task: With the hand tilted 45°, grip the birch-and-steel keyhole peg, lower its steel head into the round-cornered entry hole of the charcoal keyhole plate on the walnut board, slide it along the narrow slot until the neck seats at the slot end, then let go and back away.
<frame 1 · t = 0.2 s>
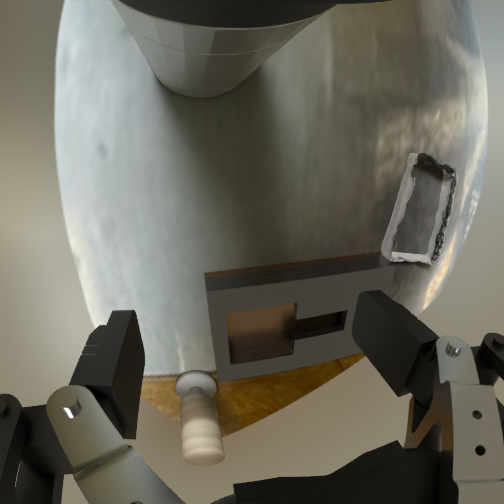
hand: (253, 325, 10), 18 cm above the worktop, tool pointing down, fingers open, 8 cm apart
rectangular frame: (416, 208, 31), on the worktop
keyhole peg: (195, 383, 34), on the worktop
keyhole board: (297, 309, 32), on the worktop
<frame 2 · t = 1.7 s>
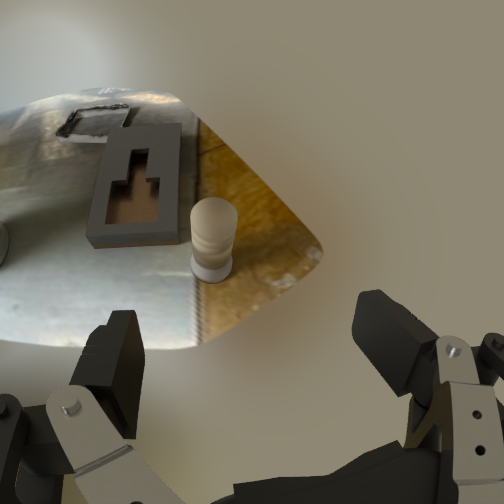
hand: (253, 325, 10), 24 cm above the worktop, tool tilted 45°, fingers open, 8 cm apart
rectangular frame: (95, 129, 45), on the worktop
keyhole peg: (211, 264, 37), on the worktop
keyhole board: (140, 186, 40), on the worktop
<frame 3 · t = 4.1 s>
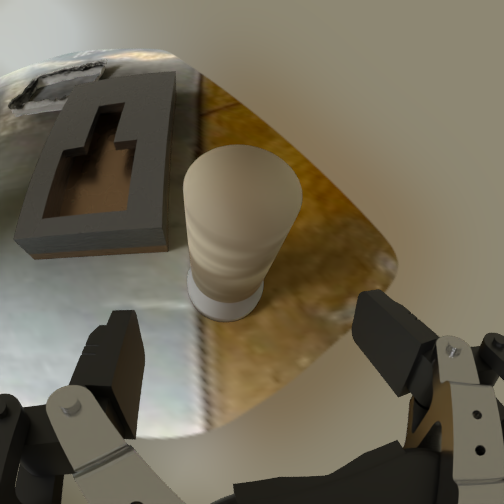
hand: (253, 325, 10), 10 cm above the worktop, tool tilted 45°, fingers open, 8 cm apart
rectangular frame: (59, 96, 29), on the worktop
keyhole peg: (224, 286, 21), on the worktop
keyhole board: (110, 159, 24), on the worktop
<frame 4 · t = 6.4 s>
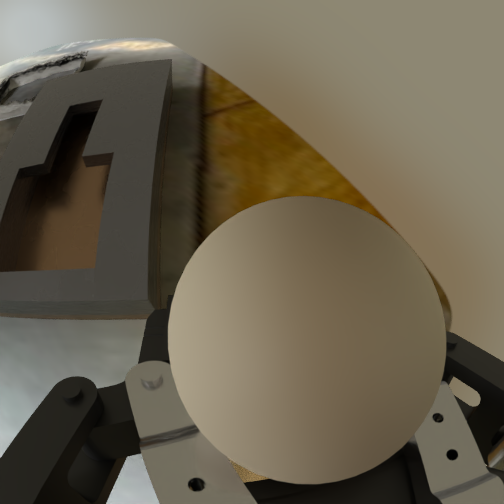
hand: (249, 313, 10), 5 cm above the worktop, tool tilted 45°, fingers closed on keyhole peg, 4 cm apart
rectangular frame: (32, 97, 22), on the worktop
keyhole peg: (241, 369, 14), on the worktop, touching gripper
keyhole board: (83, 177, 17), on the worktop
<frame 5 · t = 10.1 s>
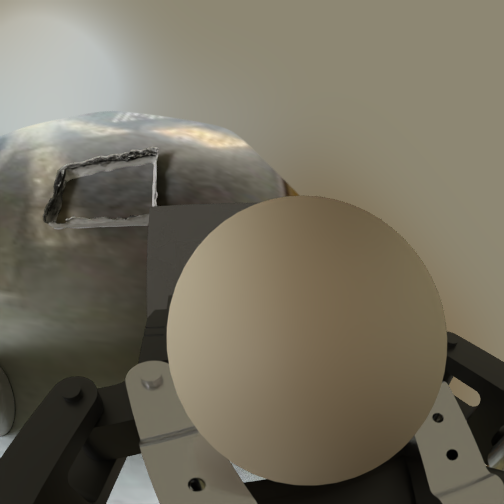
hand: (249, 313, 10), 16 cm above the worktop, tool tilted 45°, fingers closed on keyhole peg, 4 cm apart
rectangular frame: (105, 197, 30), on the worktop
keyhole peg: (242, 369, 14), point 11 cm above the worktop, touching gripper
keyhole board: (219, 318, 26), on the worktop
when the fingers open (6 cm above the worktop, at t = 14.2 s): keyhole peg stays where it is, resting on keyhole board.
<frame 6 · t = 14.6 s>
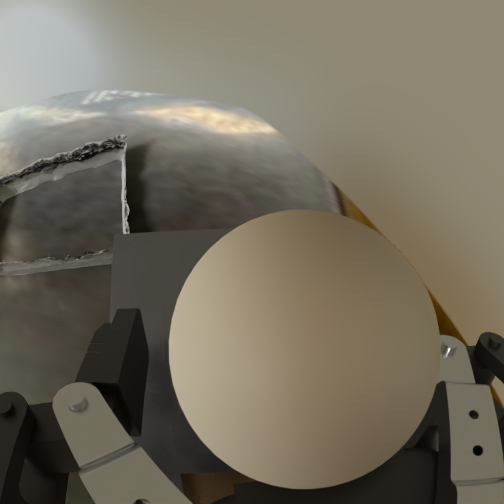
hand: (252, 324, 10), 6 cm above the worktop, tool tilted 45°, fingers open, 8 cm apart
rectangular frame: (53, 221, 18), on the worktop
keyhole peg: (241, 371, 14), point 1 cm above the worktop, touching keyhole board
keyhole board: (246, 425, 14), on the worktop
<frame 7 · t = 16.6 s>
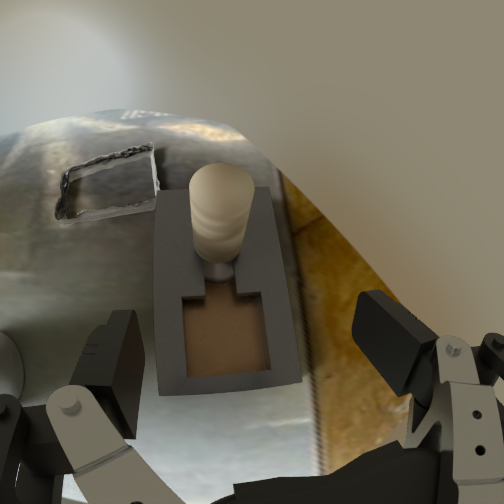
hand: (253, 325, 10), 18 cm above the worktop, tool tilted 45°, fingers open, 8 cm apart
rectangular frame: (110, 192, 33), on the worktop
keyhole peg: (216, 258, 29), point 1 cm above the worktop, touching keyhole board
keyhole board: (218, 290, 29), on the worktop
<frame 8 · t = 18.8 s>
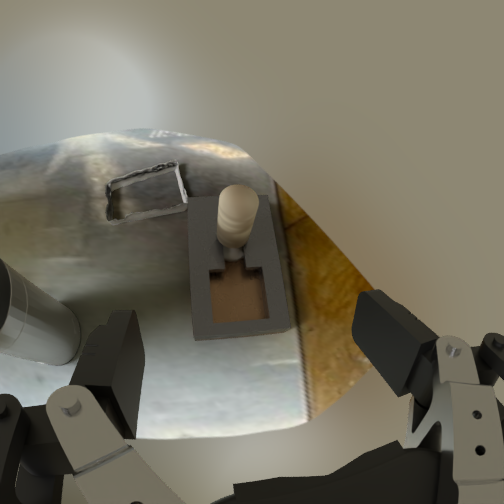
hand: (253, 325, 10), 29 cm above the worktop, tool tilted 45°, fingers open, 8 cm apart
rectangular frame: (146, 198, 45), on the worktop
keyhole peg: (230, 245, 42), point 1 cm above the worktop, touching keyhole board
keyhole board: (232, 267, 41), on the worktop
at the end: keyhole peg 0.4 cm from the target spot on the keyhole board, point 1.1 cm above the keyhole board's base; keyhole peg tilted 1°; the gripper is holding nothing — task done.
